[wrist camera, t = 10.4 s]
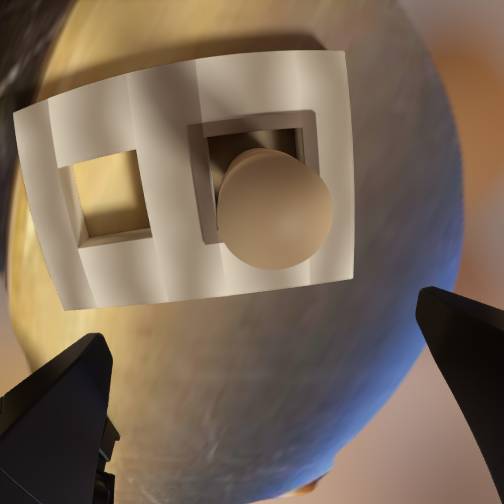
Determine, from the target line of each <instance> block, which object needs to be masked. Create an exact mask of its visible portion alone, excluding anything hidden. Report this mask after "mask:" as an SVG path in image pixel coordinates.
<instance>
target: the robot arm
mask: <svg viewBox="0 0 504 504" xmlns="http://www.w3.org/2000/svg"><path fill="white" fill-rule="evenodd" d="M415 314H416V320H417V323H418V325H419V327H420V329H421V331H422V334H423V336H424V338H425V340H426V342H427V345H428V347H429V349H430V352H431V354H432V356H433V358H434V360H435V362H436V364H437V366H438V368H439V369H440V371H441V373H442V375H443V377H444V379H445V380H446V382H447V384H448V386H449V388H450V389H451V391H452V393H453V395H454V397H455V399H456V401H457V403H458V405H459V407H460V409H461V411H462V413H463V415H464V417H465V419H466V421H467V423H468V425H469V427H470V429H471V431H472V433H473V435H474V438H475V440H476V442H477V444H478V446H479V448H480V451H481V453H482V455H483V457H484V459H485V462H486V464H487V466H488V469H489V471H490V474H491V476H492V479H493V481H494V484H495V486H496V489H497V491H498V494H499V497H500V499H501V502H502V504H504V310H501V309H498V308H495V307H492V306H489V305H486V304H484V303H481V302H478V301H475V300H472V299H469V298H466V297H463V296H461V295H458V294H455V293H452V292H449V291H446V290H443V289H440V288H437V287H434V286H430V287H426V288H422V289H421V290H420V292H419V295H418V301H417V307H416V313H415ZM112 366H113V358H112V355H111V352H110V350H109V348H108V345H107V343H106V341H105V338H104V336H103V335H102V334H101V333H88V334H86V335H85V336H83V337H82V338H81V339H79V340H78V341H77V342H75V343H74V344H72V345H71V346H70V347H68V348H67V349H65V350H64V351H63V352H61V353H60V354H59V355H57V356H56V357H54V358H53V359H52V360H50V361H49V362H48V363H46V364H45V365H44V366H42V367H41V368H39V369H38V370H37V371H35V372H34V373H33V374H31V375H30V376H29V377H27V378H26V379H25V380H23V381H22V382H21V383H19V384H18V385H17V386H15V387H14V388H13V389H11V390H10V391H9V392H7V393H6V394H5V395H4V397H3V396H2V397H1V398H0V504H114V485H115V475H113V474H111V473H107V472H104V469H105V465H106V462H109V461H110V460H111V456H112V452H113V448H114V444H115V441H119V440H120V435H119V433H118V432H117V431H116V429H115V428H114V426H113V425H112V423H111V421H110V420H109V418H108V417H107V415H106V414H107V408H108V401H109V392H110V383H111V374H112Z"/></svg>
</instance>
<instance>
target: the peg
mask: <svg viewBox="0 0 504 504" xmlns="http://www.w3.org/2000/svg"><path fill="white" fill-rule="evenodd" d="M332 220H333V203H332V199H331V195H330V192H329V190H328V188H327V186H326V184H325V182H324V181H323V180H322V178H321V177H320V176H319V175H318V174H317V173H316V172H315V171H314V170H312V169H311V168H310V167H308V166H307V165H305V164H303V163H302V162H300V161H298V160H297V159H295V158H293V157H292V156H290V155H288V154H286V153H284V152H281V151H277V150H270V149H266V148H255V149H249V150H246V151H244V152H242V153H241V154H240V155H238V156H237V157H236V158H235V159H234V160H233V161H232V162H231V164H230V165H229V167H228V169H227V171H226V173H225V175H224V177H223V179H222V182H221V185H220V190H219V198H218V206H217V225H218V229H219V233H220V235H221V238H222V240H223V242H224V244H225V245H226V247H227V248H228V249H229V251H230V252H231V253H232V254H233V255H234V256H236V257H237V258H238V259H239V260H241V261H243V262H244V263H246V264H248V265H250V266H253V267H256V268H260V269H265V270H281V269H286V268H290V267H293V266H296V265H298V264H300V263H302V262H304V261H305V260H307V259H308V258H310V257H311V256H312V255H314V254H315V253H316V252H317V251H318V250H319V248H320V247H321V246H322V245H323V243H324V241H325V240H326V238H327V236H328V234H329V232H330V229H331V225H332Z"/></svg>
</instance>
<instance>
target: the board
mask: <svg viewBox="0 0 504 504" xmlns="http://www.w3.org/2000/svg"><path fill="white" fill-rule="evenodd" d="M13 117H14V125H15V133H16V140H17V147H18V153H19V159H20V164H21V169H22V174H23V179H24V184H25V189H26V193H27V197H28V201H29V205H30V209H31V213H32V217H33V221H34V224H35V228H36V231H37V235H38V238H39V242H40V245H41V248H42V251H43V254H44V257H45V260H46V263H47V266H48V269H49V272H50V275H51V278H52V280H53V283H54V286H55V288H56V291H57V294H58V296H59V299H60V301H61V304H62V306H63V309H64V311H67V310H81V309H95V308H108V307H120V306H131V305H142V304H153V303H163V302H173V301H183V300H193V299H202V298H211V297H220V296H228V295H237V294H245V293H253V292H261V291H269V290H276V289H284V288H291V287H298V286H306V285H313V284H320V283H326V282H333V281H340V280H346V279H353V263H354V165H353V143H352V126H351V112H350V100H349V89H348V79H347V70H346V61H345V53H344V51H327V50H294V51H269V52H254V53H242V54H232V55H223V56H215V57H207V58H200V59H194V60H188V61H182V62H176V63H171V64H166V65H161V66H156V67H151V68H147V69H143V70H138V71H134V72H130V73H126V74H122V75H119V76H115V77H111V78H108V79H104V80H101V81H97V82H94V83H91V84H88V85H85V86H82V87H79V88H76V89H73V90H70V91H67V92H64V93H61V94H59V95H56V96H53V97H51V98H48V99H45V100H43V101H40V102H38V103H36V104H33V105H31V106H28V107H26V108H24V109H21V110H19V111H17V112H15V113H13ZM287 128H294V130H295V142H296V154H297V160H298V161H300V162H302V163H303V164H305V165H307V166H308V167H310V168H311V169H312V170H314V171H315V172H316V173H317V174H318V175H319V176H320V177H321V178H322V180H323V181H324V182H325V184H326V186H327V188H328V190H329V192H330V195H331V199H332V203H333V220H332V225H331V229H330V232H329V234H328V236H327V238H326V240H325V241H324V243H323V245H322V246H321V247H320V248H319V250H318V251H317V252H316V253H315V254H314V255H312V256H311V257H310V258H308V259H307V260H305V261H304V262H302V263H300V264H298V265H296V266H293V267H290V268H286V269H281V270H265V269H260V268H256V267H253V266H250V265H248V264H246V263H244V262H243V261H241V260H239V259H238V258H237V257H236V256H234V255H233V254H232V253H231V252H230V251H229V249H228V248H227V247H226V245H225V244H224V242H223V240H222V238H221V235H220V233H219V229H218V225H217V207H216V200H215V193H214V186H213V179H212V171H211V164H210V156H209V149H208V141H207V137H211V136H219V135H227V134H235V133H244V132H253V131H263V130H274V129H287ZM135 149H136V152H137V158H138V164H139V170H140V175H141V181H142V186H143V192H144V197H145V202H146V207H147V212H148V217H149V222H150V226H151V228H146V229H139V230H133V231H126V232H120V233H114V234H107V235H101V236H95V237H89V235H88V231H87V227H86V223H85V219H84V215H83V211H82V207H81V203H80V198H79V194H78V189H77V185H76V180H75V175H74V170H73V164H76V163H79V162H83V161H87V160H91V159H95V158H99V157H103V156H108V155H112V154H116V153H121V152H125V151H130V150H135Z"/></svg>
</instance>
